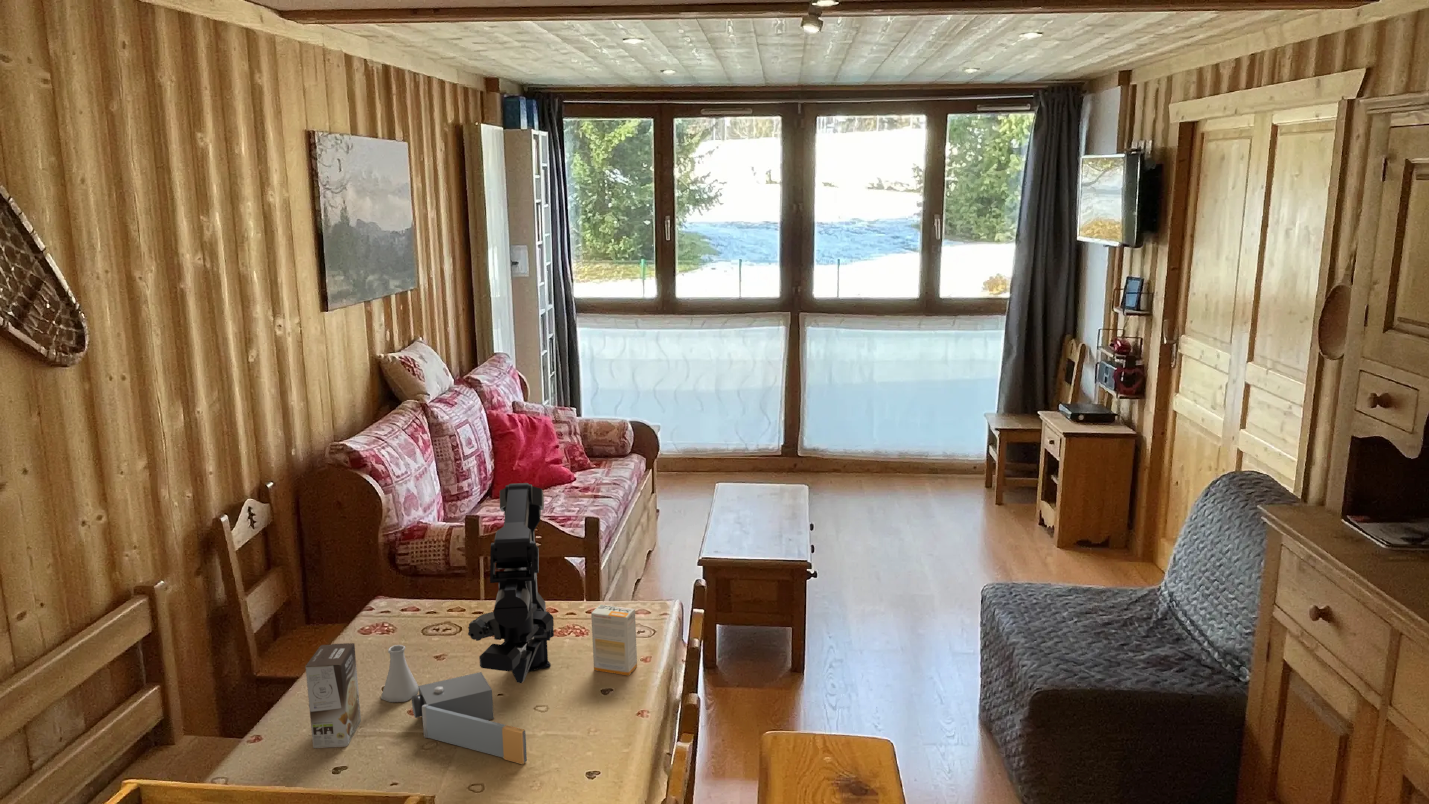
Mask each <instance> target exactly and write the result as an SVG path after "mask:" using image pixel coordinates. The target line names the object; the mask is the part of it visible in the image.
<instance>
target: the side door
mask: <svg viewBox="0 0 1429 804" xmlns="http://www.w3.org/2000/svg"><path fill="white" fill-rule="evenodd" d="M422 717H423V719H422V729H423V737H424V738H425V739H427V738H428V739H432V740H436V741H440V742H443V743H447V744H451V745H454V746H458V747H461V748H466V749H469V750H473V751H477V752H481V753H485V754H488V755H493V756H496V757H498V758H502V759H503V760H506V761H510V762H513V763H516V764H520V765H525V763H527V761H528V759H527V758H528V757H527V737H526V736H527V735H526V729H523V728H520V727H516V726H512V725H508V724H504V723H501V722H500V723H499V722H496V721H491V720H484V719H480V718H476V717H472V716H468V715H464V714H460V713H456V712H452V711H448V710H444V709H440V708H436V707H432V706H428V705H423V706H422ZM422 717H421V718H422Z"/></svg>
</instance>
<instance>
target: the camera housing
mask: <svg viewBox="0 0 1429 804" xmlns="http://www.w3.org/2000/svg"><path fill="white" fill-rule="evenodd" d="M418 686H419V691H418V694H417V695H416V696H412V698H411V705H412V706H411V708H412V713H413V717H414V718H415V719H417V718H422V720H423V717H422V706H423V705H428V706H432V707H436V708H440V709H444V710H448V711H452V712H456V713H460V714H464V715H468V716H472V717H476V718H480V719H484V720H488V721H491V720H494V719H495V718H494V702H493V689H492V687H491V686H490V684H489V682H488V681H487V679H486V678H485V676H484V674H483V673H482V671H478V672H476V673H475V672H474V673H470V674H466V675H461V676H456V677H453V678H448V679H444V680H439V681H434V682H430V683H426V684H421V685H418Z"/></svg>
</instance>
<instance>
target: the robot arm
mask: <svg viewBox="0 0 1429 804" xmlns="http://www.w3.org/2000/svg"><path fill="white" fill-rule="evenodd" d="M544 495H545V494H544V490H543V489H542V488H540V487H537V486H533V485H532V484H529V483H528V482H523V483H522V482H520V483H508V484H507V485H506V484H505V488H503V489H500V490H499V510H500V511H501V512H502V513H504V522H503V526H502V527H501V528H500V529H498V530H497V531H496V532H495V536H494V542H491V543H490V555H489V557H490V558H489V559H490V561H489V562H490V563H489V565H490V566H489V567H490V568H489V569H490V570H489V583H490V584H496V583H497V584H498V591H497V594H496V599H495V603H494V607H493V611H491V612H487V613H484V614H483V613H482V614H481V615H478V616H477V617H476V618H475V619H472V620H471V622H470V623H468V627H467V628H468V632H467V635H468V636H469V637H470V639H471V640H473V641H476V642H477V641H481V640H482V639H486V638H490V637H494V640H497V641H502V640H503V642H502V643H501V644H499V643H492V644H490V646H488V647H487V648H486V649H485V651H483V652H482V653H481V654H480V655H479V657H478V658H479V667H480V668H481V669H486V670H494V671H495V670H496V671H502V672H512V675H513V677H514V680H515V682H516V683H518V684H523V683H524V682H525V680H526V677H527V675H528V674H529V672H533V671H538V670H542V669H547V668H550V667H551V666H552V664H551V663H550V661H549V656H548V641H551V638H553V637H554V634H555V632H554V626H555V625H554V624H555V623H554V616H553V615H552V614H551V613H550V611H547V609H546V608H547V605H546V603H547V602H546V601H545V599H544V598H543V597H542V595H541V594H540V593H539V592H538V579H537V578H538V576H537V575H538V574H539V571H540V570H539V560H540V559H539V558H540V557H539V555H540V554H539V546H538V545H537V543H536V540H535V539H536V537H535V530H536V528H537V527H538V525H539V523H540V521H541V516H542V511H544V510H545V500H544V499H545V496H544ZM496 569H497V570H502V571H496ZM503 569H504V570H503Z"/></svg>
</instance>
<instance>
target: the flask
mask: <svg viewBox="0 0 1429 804" xmlns="http://www.w3.org/2000/svg"><path fill="white" fill-rule="evenodd" d="M405 650H406V646H405V645H403V644H394V645H392V646H390V647H388V650H387V653H388V654H389V659H390V660H389V669H388V673H387V676H386V679H385V683H384V685H383V690H382V693H381V696H380V699H381V700H384V701H387V702H389V703H400V702H401V703H403V702H408V701H409V700H412V696H416V695H419V686H420V685H419V684H418V682H417V680H416V679H415V677H414V675H413V673H412V671H411V669H410V667H409V665H408V663H407V660H406V657H405V656H406V655H405Z"/></svg>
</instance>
